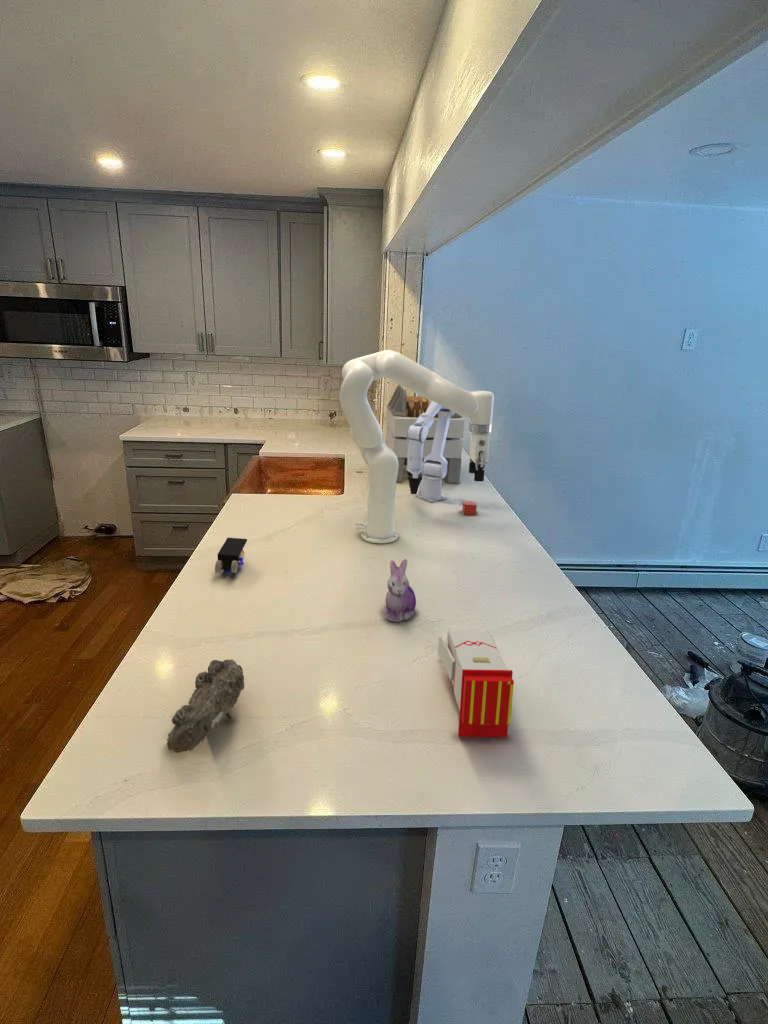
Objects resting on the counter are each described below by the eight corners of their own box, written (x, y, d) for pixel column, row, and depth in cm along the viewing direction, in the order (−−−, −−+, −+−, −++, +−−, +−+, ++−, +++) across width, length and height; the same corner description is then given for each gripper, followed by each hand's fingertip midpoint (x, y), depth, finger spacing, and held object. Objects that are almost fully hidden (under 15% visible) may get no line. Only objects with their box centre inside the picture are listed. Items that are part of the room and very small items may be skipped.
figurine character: (238, 584, 162) (249, 557, 175) (236, 562, 158) (247, 536, 172) (215, 584, 161) (227, 556, 175) (212, 561, 158) (225, 535, 171)
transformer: (382, 463, 289) (386, 382, 275) (445, 464, 293) (451, 384, 279) (390, 482, 257) (394, 392, 243) (460, 483, 261) (468, 394, 247)
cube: (475, 515, 222) (476, 505, 220) (464, 514, 221) (465, 504, 220) (473, 511, 226) (474, 501, 224) (462, 511, 226) (462, 501, 224)
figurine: (392, 627, 141) (395, 572, 136) (374, 608, 149) (376, 556, 144) (425, 619, 145) (429, 566, 140) (405, 601, 154) (408, 550, 149)
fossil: (192, 660, 117) (244, 628, 112) (224, 691, 120) (276, 661, 115) (142, 746, 98) (202, 712, 93) (182, 779, 101) (242, 748, 96)
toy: (488, 613, 130) (523, 677, 101) (484, 667, 133) (517, 744, 104) (435, 612, 130) (455, 676, 101) (432, 666, 133) (451, 743, 103)
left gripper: (496, 434, 183) (492, 484, 189) (485, 423, 200) (481, 470, 206) (473, 433, 183) (469, 484, 189) (464, 423, 199) (460, 470, 205)
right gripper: (427, 462, 209) (424, 497, 214) (424, 452, 223) (421, 485, 228) (408, 461, 209) (406, 496, 214) (406, 452, 223) (404, 485, 227)
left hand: (475, 476), depth 197 cm, fingers open, 9 cm apart
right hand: (413, 490), depth 221 cm, fingers open, 7 cm apart
